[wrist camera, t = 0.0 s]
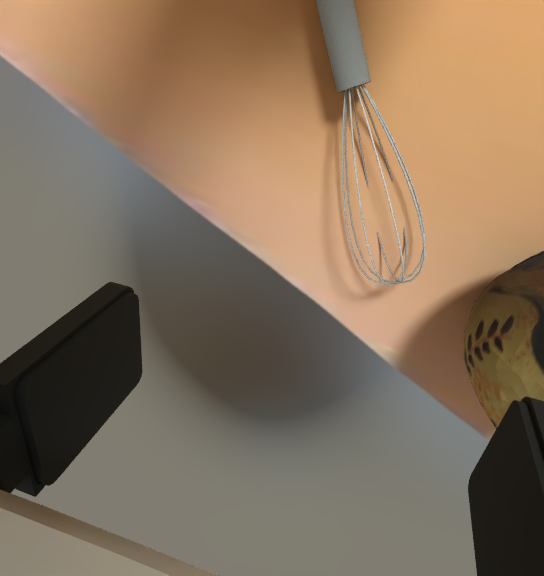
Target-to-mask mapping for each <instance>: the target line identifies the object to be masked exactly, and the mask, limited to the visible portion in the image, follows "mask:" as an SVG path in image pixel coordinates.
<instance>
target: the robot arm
mask: <svg viewBox="0 0 544 576" xmlns="http://www.w3.org/2000/svg"><path fill="white" fill-rule="evenodd" d="M141 375H142V357H141V337H140V317H139V299H138V296H137V295H136V294H134V291H133V289H132V288H131V287H128V286H124V285H121V284H117V283H114V282H109V283H107V284H105V285H104V286H103V287H102V288H100V289H99V290H98V291H96V292H95V293H94V294H92V295H91V296H90V297H88V298H87V299H86V300H84V301H83V302H82V303H80V304H79V305H78V306H76V307H75V308H74V309H72V310H71V311H70V312H68V313H67V314H66V315H64V316H63V317H62V318H60V319H59V320H58V321H56V322H55V323H54V324H52V325H51V326H50V327H48V328H47V329H46V330H44V331H43V332H42V333H40V334H39V335H38V336H36V337H35V338H34V339H32V340H31V341H30V342H28V343H27V344H26V345H24V346H23V347H22V348H20V349H19V350H18V351H16V352H15V353H14V354H12V355H11V356H10V357H8V358H7V359H6V360H4V361H3V362H2V363H0V576H219V575H216V574H213V573H211V572H209V571H206V570H204V569H201V568H199V567H196V566H194V565H191V564H188V563H186V562H184V561H181V560H179V559H176V558H174V557H171V556H169V555H166V554H164V553H161V552H159V551H156V550H153V549H151V548H149V547H146V546H144V545H141V544H139V543H136V542H134V541H131V540H129V539H126V538H124V537H121V536H119V535H116V534H113V533H111V532H108V531H106V530H103V529H101V528H98V527H96V526H93V525H91V524H88V523H86V522H83V521H80V520H78V519H75V518H73V517H70V516H68V515H65V514H63V513H60V512H58V511H55V510H53V509H50V508H48V507H45V506H43V505H40V504H37V503H35V502H32V501H29V500H27V499H24V498H21V497H18V496H16V495H13V494H10V493H11V492H12V491H13V490H14V489H15V488H16V489H17V490H19V491H22V492H25V493H27V494H29V495H32V496H37V495H38V494H39V492H40V491H41V490H42V489H43V488H44V486H45V485H51V484H53V483H54V482H55V481H56V480H57V479H58V477H60V475H61V474H62V473H63V472H64V471H65V469H66V468H67V467H68V466H69V465H70V464H71V462H72V461H73V460H74V459H75V457H76V456H77V455H78V454H79V453H80V452H81V450H82V449H83V448H84V447H85V446H86V444H87V443H88V442H89V441H90V440H91V439H92V437H93V436H94V435H95V434H96V433H97V432H98V430H99V429H100V428H101V427H102V426H103V424H104V423H105V422H106V421H107V419H108V418H109V417H110V416H111V415H112V414H113V413H114V411H115V410H116V409H117V408H118V407H119V405H120V404H121V403H122V402H123V401H124V400H125V398H126V397H127V396H128V395H129V393H130V392H131V391H132V390H133V389H134V388H135V386H136V385H137V384H138V383H139V381H140V378H141ZM468 493H469V503H470V512H471V521H472V531H473V540H474V550H475V559H476V568H477V576H544V401H542V400H538V399H535V398H531V397H524V398H523V399H522V400H521V401H517V400H514V401H513V402H512V403H511V404H510V406H509V408H508V410H507V411H506V413H505V415H504V417H503V418H502V420H501V422H500V424H499V426H498V427H497V429H496V431H495V433H494V435H493V436H492V438H491V440H490V442H489V444H488V446H487V447H486V449H485V451H484V452H483V454H482V456H481V458H480V460H479V462H478V463H477V465H476V467H475V469H474V470H473V472H472V474H471V476H470V479H469V485H468Z"/></svg>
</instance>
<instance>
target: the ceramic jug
mask: <svg viewBox="0 0 544 576" xmlns="http://www.w3.org/2000/svg"><path fill="white" fill-rule="evenodd" d="M464 359H465V363H466V367H467V370H468V373H469V376H470V379H471V383H472V385H473V388H474V390H475V393H476V395H477V397H478V399H479V401H480V403H481V405H482V407H483V408H484V410H485V411H486V413H487V415H488V416H489V418H490V419H491V421H492V422H493V424H494V426H495V427H496V429H497V427H498V426H499V424H500V422H501V420H502V418H503V417H504V415H505V413H506V411H507V410H508V408H509V406H510V404H511V403H512V402H513V401H514V400H517V401H521V400H522V399H523V398H524V397H531V398H535V399H538V400H542V401H544V251H542V252H541V253H539V254H537V255H534V256H532V257H530V258H528V259H526V260H525V261H523V262H521V263H519V264H517V265H515V266H514V267H513V268H512V269H510V270H508V271H507V272H505V273H503V274H502V275H500V276H499V277H498V278H496V279H495V280H494V281H493V282H492V283H491V284H490V285H489V286H488V287H487V288H486V289H485V290H484V291H483V292H482V294H481V295H480V296H479V298H478V299H477V300H476V301H475V304H474V306H473V309H472V311H471V314H470V316H469V319H468V322H467V325H466V327H465V339H464Z"/></svg>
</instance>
